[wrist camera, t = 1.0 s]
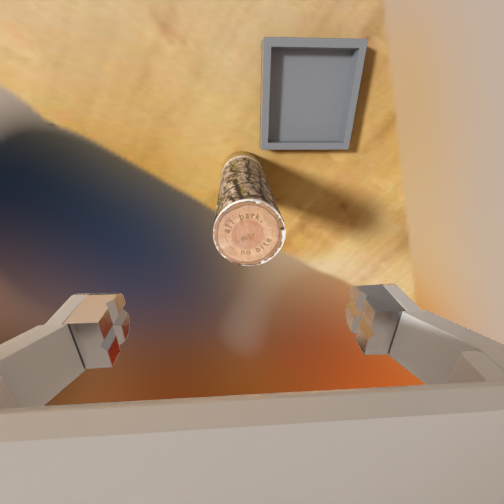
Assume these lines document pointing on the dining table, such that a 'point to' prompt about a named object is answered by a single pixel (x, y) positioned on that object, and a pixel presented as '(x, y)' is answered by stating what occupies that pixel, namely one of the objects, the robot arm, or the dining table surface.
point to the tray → (309, 92)
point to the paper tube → (246, 213)
